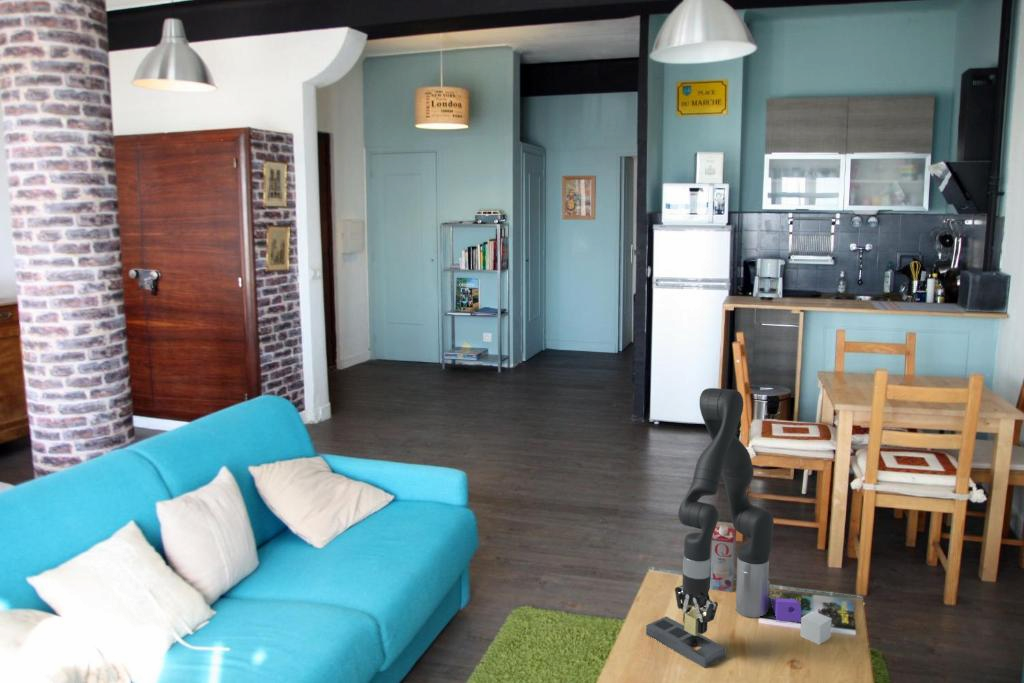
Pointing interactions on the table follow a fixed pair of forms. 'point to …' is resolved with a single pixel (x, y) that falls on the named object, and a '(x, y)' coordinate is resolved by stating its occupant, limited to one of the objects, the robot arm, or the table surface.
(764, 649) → the table surface
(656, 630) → the silver slotted board
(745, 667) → the table surface
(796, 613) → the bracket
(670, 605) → the table surface
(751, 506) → the robot arm
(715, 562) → the juice carton
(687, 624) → the brushed gold cube
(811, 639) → the light grey cube
